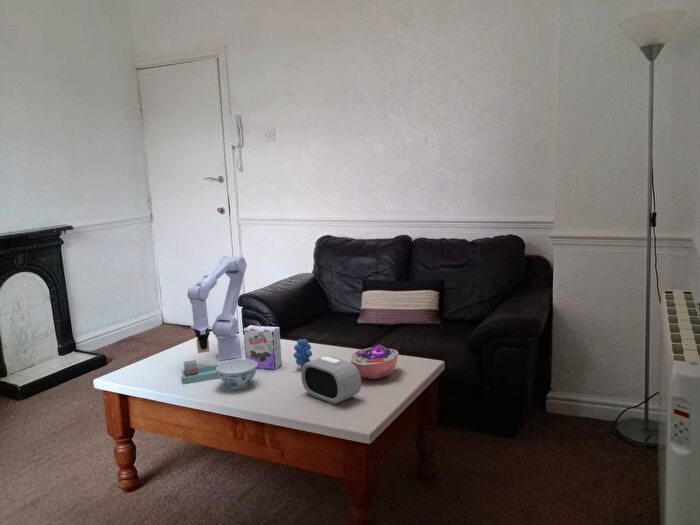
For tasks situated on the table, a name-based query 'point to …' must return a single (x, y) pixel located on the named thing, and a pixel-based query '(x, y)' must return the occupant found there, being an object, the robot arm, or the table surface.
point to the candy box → (263, 346)
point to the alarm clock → (331, 379)
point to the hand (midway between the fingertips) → (203, 347)
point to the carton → (202, 349)
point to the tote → (202, 374)
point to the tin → (190, 368)
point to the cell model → (375, 361)
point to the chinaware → (237, 372)
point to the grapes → (302, 352)
